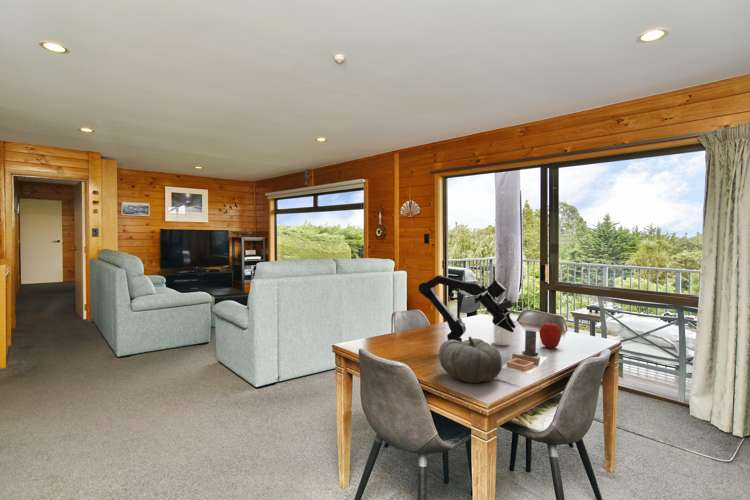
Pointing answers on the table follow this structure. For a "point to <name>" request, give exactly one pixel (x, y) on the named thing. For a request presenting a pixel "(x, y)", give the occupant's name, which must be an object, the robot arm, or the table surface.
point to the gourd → (470, 360)
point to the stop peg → (530, 342)
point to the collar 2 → (534, 356)
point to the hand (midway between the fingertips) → (514, 329)
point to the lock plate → (527, 358)
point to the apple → (550, 335)
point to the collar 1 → (524, 365)
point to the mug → (501, 336)
